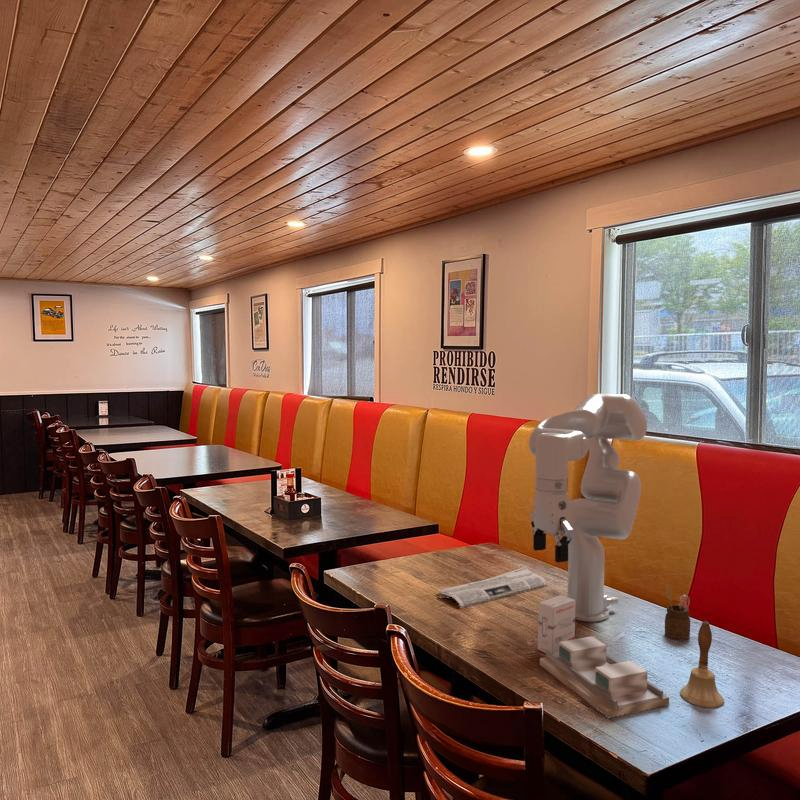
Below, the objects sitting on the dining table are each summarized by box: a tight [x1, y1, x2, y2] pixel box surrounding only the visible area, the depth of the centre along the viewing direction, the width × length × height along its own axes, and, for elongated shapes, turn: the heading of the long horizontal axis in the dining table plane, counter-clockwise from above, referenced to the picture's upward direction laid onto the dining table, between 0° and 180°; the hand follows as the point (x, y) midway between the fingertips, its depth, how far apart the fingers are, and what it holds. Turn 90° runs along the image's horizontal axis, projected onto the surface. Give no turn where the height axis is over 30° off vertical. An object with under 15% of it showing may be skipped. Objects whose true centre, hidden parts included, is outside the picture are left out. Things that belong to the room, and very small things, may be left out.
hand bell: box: [679, 620, 725, 709], centre depth 135 cm, size 8×8×16 cm
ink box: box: [537, 595, 576, 654], centre depth 158 cm, size 9×5×12 cm, turn 128°
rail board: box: [539, 635, 670, 718], centre depth 141 cm, size 15×24×6 cm, turn 21°
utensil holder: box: [664, 584, 691, 641], centre depth 166 cm, size 6×6×12 cm
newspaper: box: [437, 566, 548, 609], centre depth 198 cm, size 35×12×4 cm, turn 123°
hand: (550, 555), depth 158 cm, fingers open, 9 cm apart
